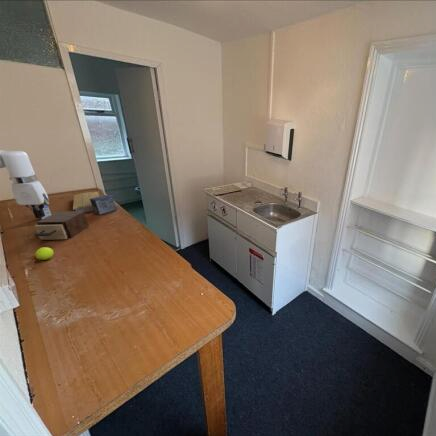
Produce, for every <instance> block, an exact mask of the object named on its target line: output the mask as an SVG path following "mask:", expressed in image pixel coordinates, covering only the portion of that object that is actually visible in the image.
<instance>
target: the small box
mask: <svg viewBox="0 0 436 436" xmlns="http://www.w3.org/2000/svg"><path fill="white" fill-rule="evenodd" d="M90 201H91V204H92V207H93V210H94V211H93V213H94V214H95V215H98V216H102V215H106V214H109V213H112V211H113V212H115V211H117V207H116V204H115V201H114V197H113V195H110V194H104V195H99V197H94V198H91V199H90Z"/></svg>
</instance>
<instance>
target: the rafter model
mask: <svg viewBox="0 0 436 436" xmlns="http://www.w3.org/2000/svg"><path fill="white" fill-rule="evenodd" d="M99 196H100V192H99V191H90V192H88V191H87V192H82V193H76V194H73V206H72V210H74V211H84V213H89V212H94V210H93V207H92V204H91V201H90V199H91V198H95V197H99Z"/></svg>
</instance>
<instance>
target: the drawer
mask: <svg viewBox="0 0 436 436" xmlns="http://www.w3.org/2000/svg"><path fill="white" fill-rule="evenodd" d="M33 227H34V229H35V231H36V233H35V234H34V236H35V237H38V238H39V239H40V240H41V241H46V240H47V241H48V240H49V241H50V240H67V239H68V238H67V236H69V234H68V232H67V229H66V226H65V224H64V223H42V224H40V225H38V224H36V225H34V226H33Z"/></svg>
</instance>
